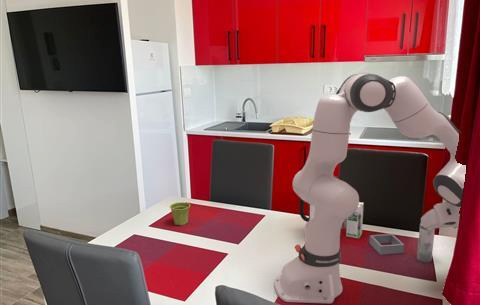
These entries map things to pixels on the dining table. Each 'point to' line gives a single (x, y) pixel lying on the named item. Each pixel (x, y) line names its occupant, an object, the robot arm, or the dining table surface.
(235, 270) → the dining table surface
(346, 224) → the small box
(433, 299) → the dining table surface
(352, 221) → the syrup box
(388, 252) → the socket
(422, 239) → the tube
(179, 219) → the plant pot
